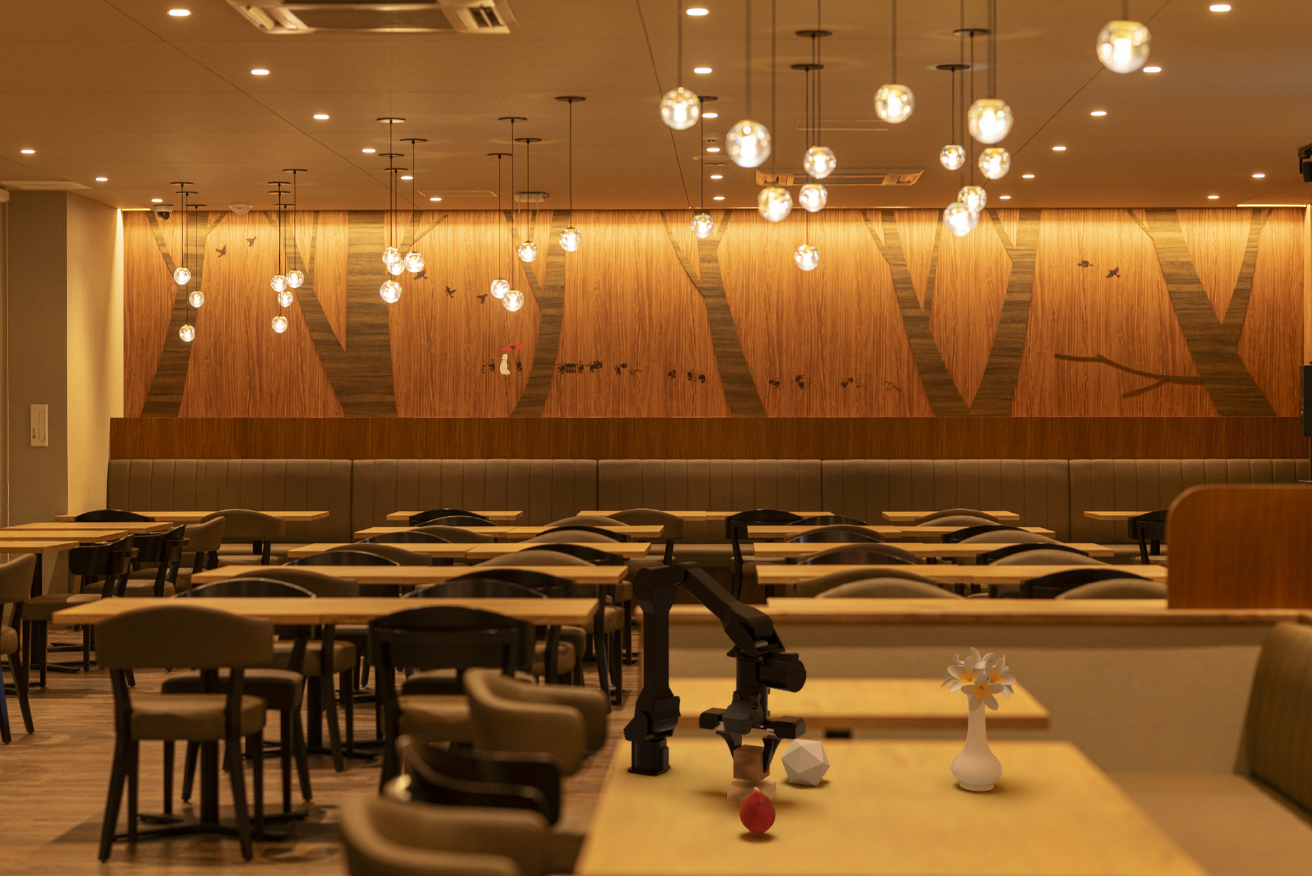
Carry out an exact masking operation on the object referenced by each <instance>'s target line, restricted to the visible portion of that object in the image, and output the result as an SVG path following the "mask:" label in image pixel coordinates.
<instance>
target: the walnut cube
mask: <svg viewBox="0 0 1312 876" xmlns="http://www.w3.org/2000/svg"><path fill="white" fill-rule="evenodd" d="M763 754H764V745H763V746H762V745H753V744H747V743H746V744H745V743H744V744H742V746H740V747H739V748H737V749H735V750H733V758H732V761H733V763H732V764H733V765H732V767H733V768H732V769H733V771H732V773H733V776H732V777H733V778H732V779H734V780H736V779H742V780H749V781H756V782H760V781H761V780H763V779H764V780H765V779H766V778H767V777H769V776H770V775H771V770H770V769H771V766H770V767H769V769H768V771H767V772H766V773H764V772H763Z"/></svg>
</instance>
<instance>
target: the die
mask: <svg viewBox="0 0 1312 876" xmlns="http://www.w3.org/2000/svg"><path fill="white" fill-rule="evenodd" d="M780 759H781V760H780V761H781V762H782V765H783V768H784V771H785V773H786V775H787V778H788V780H789V784H795V785H803V786H813V787H817V786H818V784H819V783H820V782H821V780H822V779H823V777H824V776H825V774H826V773H827V771H828V770H829V769H830V767H831V765H830V762H829V759H828V757H827V753H826V752H825V749H824V746H823V744H822V741H820V740H812V739H811V740H810V739H802V738H796V739H793V740H792V742H791V744H790V745H789V746H788V748H787V749H786V751H785V752H784V754H783V755H781V757H780Z"/></svg>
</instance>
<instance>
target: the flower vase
mask: <svg viewBox="0 0 1312 876" xmlns="http://www.w3.org/2000/svg"><path fill="white" fill-rule="evenodd" d="M969 651H970V655H968V656H966V657H965V659H964V660H960V652H958V653H957V652H955V654H954V656H953V660H952V665H949V666H947V669H946V670H947V671H946V672H945V674H944V676H943V677H944V678H945V681H944V682H943V683H942V685H941V686H940V687H941V688H943V687H944V686H946V685H947V684H948V683H950V682H951V681H952V683H951V684H950V686H949V687H948V690H949V692H950V693H957V692H958V691H961V692H962V693H963V694H965V695H966V696H967V702H968V703H967V704H968V723H967V735H966V740H965V743H964V746H963V748H962V749H961V751H960V752H958V753H957V754H956V755H955V756H954V758H953V759H952V762H951V763H950V772H951V774H952V775H953V777H954V778H955V779H956V780H957V781H959V783H958V784H959V787H960V788H961V789H964V790H967V791H969V792H978V793H979V792H980V793H981V792H988V791H992V790H993V789H994V787H995V783H997V782H998V781H999V780H1000V779H1001V777H1002V775H1003V773H1004V772H1003V766H1002V763H1001V762H1000V760H999V758H998V757H997V756H996V755H995V754H994V753H993V752H992V750H991V748H990V745H989V743H988V739H987V731H986V729H987V728H986V707H987V708H988V709H990V710H993V711H997V710H998V709H999V703H998V701H997V698H995V697H994V695H997V694H998V695H999V694H1000V693H1001V695H1003V696H1004V697H1005V698H1006V699H1010V698H1011V695H1013V694H1015V693H1014V689H1013V687H1012V685H1014V684H1016V682H1017V680H1016V677H1015V676H1014V675H1012V674H1011V673H1010V668H1009V666H1008V665H1007V666H1005V665H1006V656H1005V655H1003V656H1002V657H999V658H998V659H997V655H996V653H995V652H988V653H986V654H985V655H983V657H982V655H981V653H980V652H979V650H978V649H976V648H975V647H972V646H971V647H970V648H969ZM996 659H997V660H996ZM995 661H996V663H995ZM994 663H995V664H994ZM953 680H954V681H953Z"/></svg>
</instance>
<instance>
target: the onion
mask: <svg viewBox="0 0 1312 876" xmlns="http://www.w3.org/2000/svg"><path fill="white" fill-rule="evenodd" d="M776 815H777V813H776V809H775V805H774V803H773V802H772V800H771V801H770V799H769V798H768V797H767V796H766V795H764V794H763V793H762V792H761V791H760V790H759V789H758V788H757V787H754V790H753V793H752V794H751V795H749V796H748V797H747V798H746V799H745V800H744V801H743V803H742V804H740V807H739V818H740V821H741V824H742V825H743V827H745V828H746V829H747V830H748V832H750V834H752V836H753V837H757V838H758V837H760V836H761V835H763V834H764V833H766V832H767V831H769V829H770V828H771V827H773V826H774V823H775V821H776Z"/></svg>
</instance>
